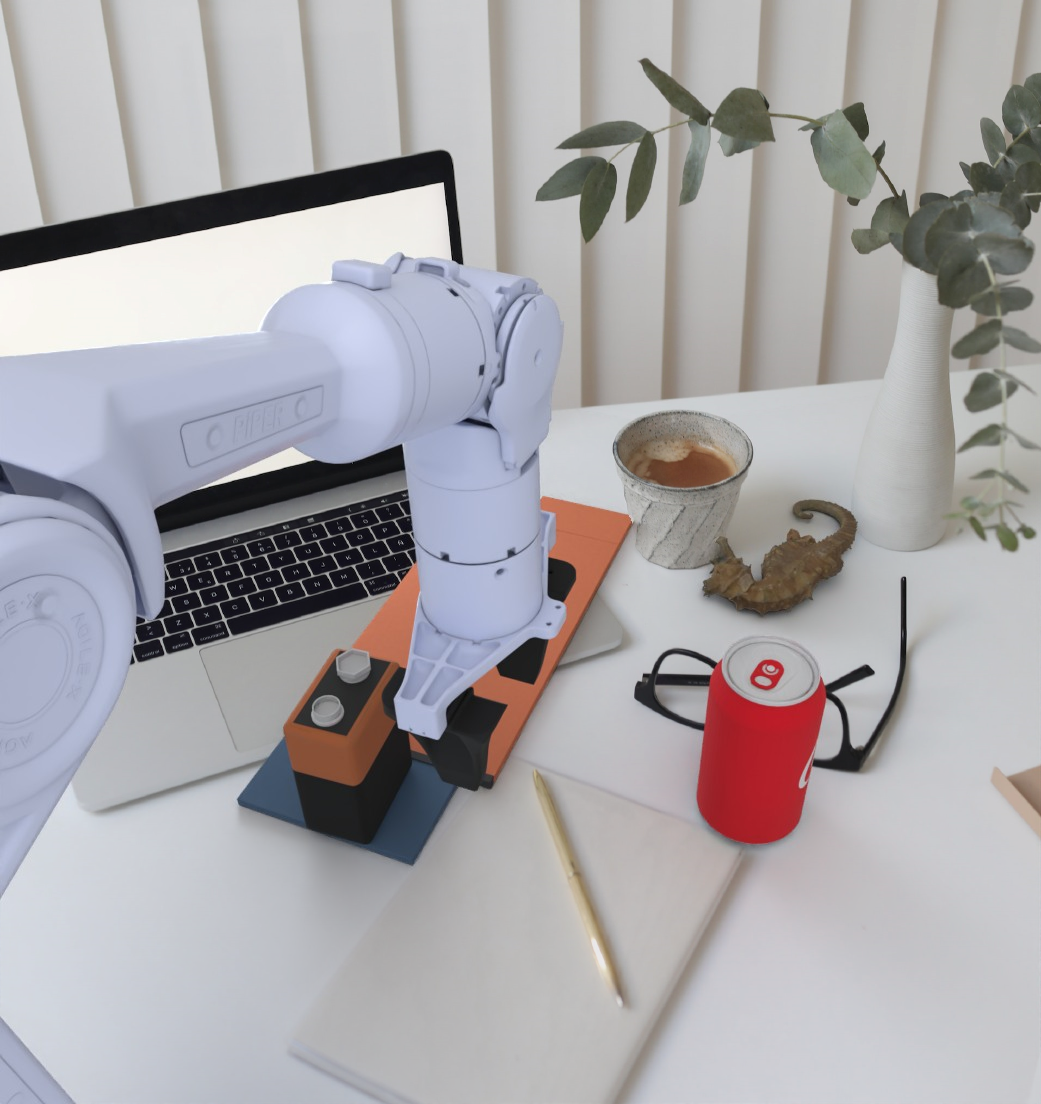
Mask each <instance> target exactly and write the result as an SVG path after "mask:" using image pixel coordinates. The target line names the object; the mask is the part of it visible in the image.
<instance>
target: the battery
mask: <svg viewBox="0 0 1041 1104" xmlns="http://www.w3.org/2000/svg"><path fill="white" fill-rule="evenodd" d="M398 667H400V665H399V664H398V663H397V662H396V661H392V660H387V659H383V658H379V657H374V656H370V655H369V652H367V651H363V650H358V649H354V648H351V647H350V649H348V650H347V649H343V648H336V649H334V650H333V651H332V652H331V654H330V655H329V656H328V657H327V659H326V660H325V662H324V664H323V665H322V667H321V668H320V670H319V671H318V673H317V674H316V675H315V677H314V678H313V681H312V682H311V683H310V685H308V688H307V689H306V690H305V692H304V693H303V695H302V697H301V698H300V700H299V701H298V703H297V704H296V706H295V707H294V709H293V710H292V711H291V714H290V715H289V716H288V717H287V719H286V721H285V722H284V724H283V725H282V728H283V729H282V731H283V737H284V736H285V740H286V744H287V749H288V753H289V757H290V761H291V765H292V770H293V774H294V778H295V782H296V787H297V791H298V795H299V799H300V803H301V808H302V812H303V816H304V820H305V824H306V827H307V828H308V829H307V828H306V829H307V830H309V829H310V830H309V831H312V830H313V832H315V831H316V832H315V833H318V832H320V833H319V834H321V833H323V834H322V835H324V834H327V835H331V836H334V837H338V838H341V839H345V840H349V841H352V842H356V843H359V844H363V845H367V844H369V843H370V842H371V841H372V840H373V838H374V836H375V834H376V832H377V831H378V829H379V827H380V825H381V823H382V821H383V819H384V817H385V815H386V813H387V812H388V810H389V808H390V806H391V804H392V802H393V800H394V798H395V796H396V794H397V792H398V791H399V789H400V787H401V785H402V783H403V781H404V779H405V777H406V775H407V773H408V771H409V770H410V768H411V765H412V756H411V748H410V740H409V732H408V731H406V730H403V729H399V728H398V723H397V722H395V721H394V720H392V719H391V718H389V717H388V716H387V715H386V714H385V713H384V710H383V703H382V697H381V696H382V691H383V689H384V688H385V686H386V685H387V683H388V682H389V680H390V679H391V677H392V676H393V674H394V673H395V671H396V670H397V668H398ZM327 835H326V836H327Z"/></svg>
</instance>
